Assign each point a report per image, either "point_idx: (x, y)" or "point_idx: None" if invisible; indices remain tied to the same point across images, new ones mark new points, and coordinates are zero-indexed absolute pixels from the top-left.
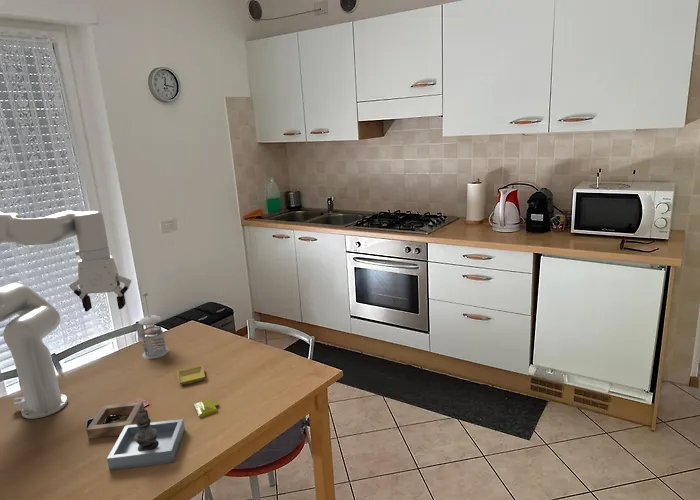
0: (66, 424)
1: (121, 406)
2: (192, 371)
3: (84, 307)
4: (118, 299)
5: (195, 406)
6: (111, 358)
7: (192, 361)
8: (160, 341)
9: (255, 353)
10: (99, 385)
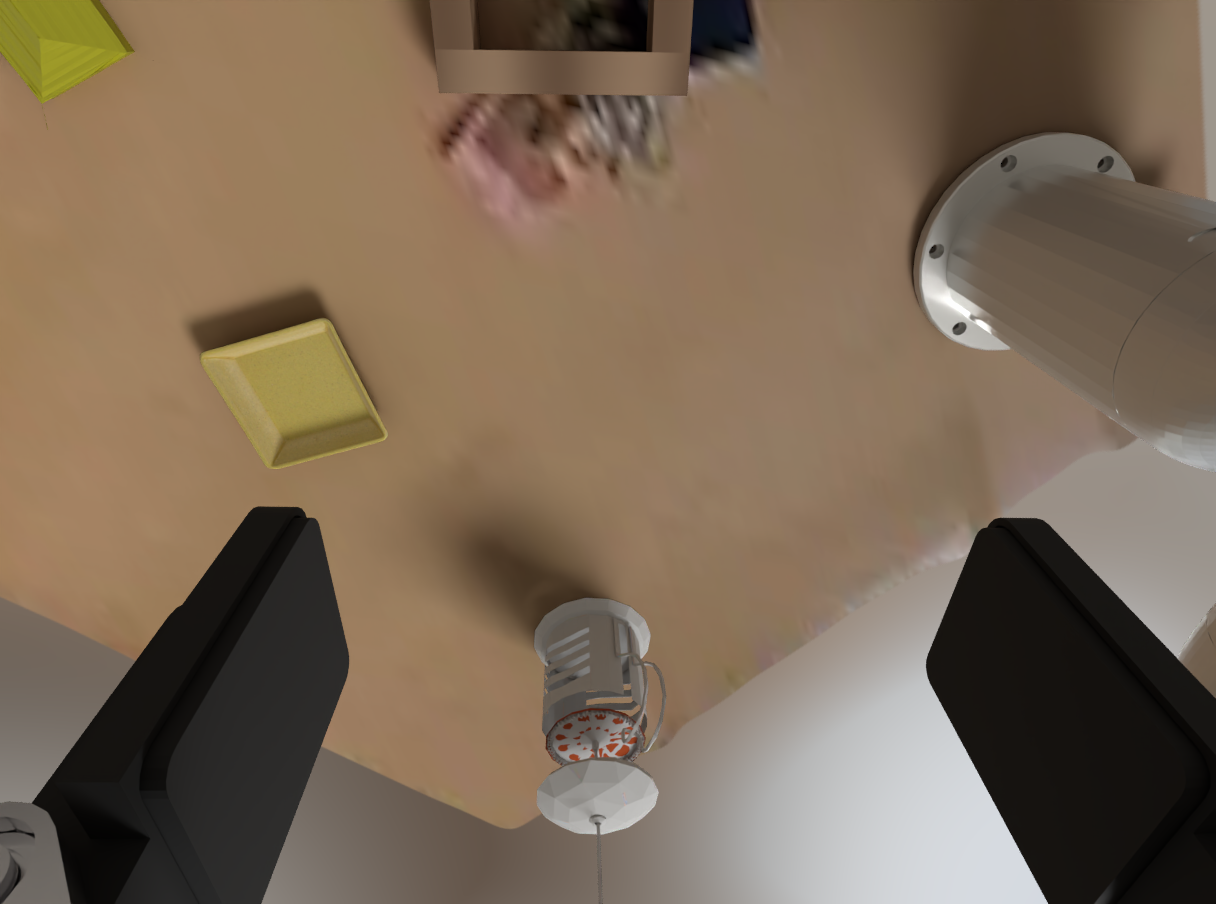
0: (874, 24)
1: (560, 54)
2: (318, 440)
3: (1094, 576)
4: (135, 698)
5: (92, 13)
6: (785, 627)
7: (374, 542)
8: (576, 699)
9: (59, 560)
10: (784, 410)
